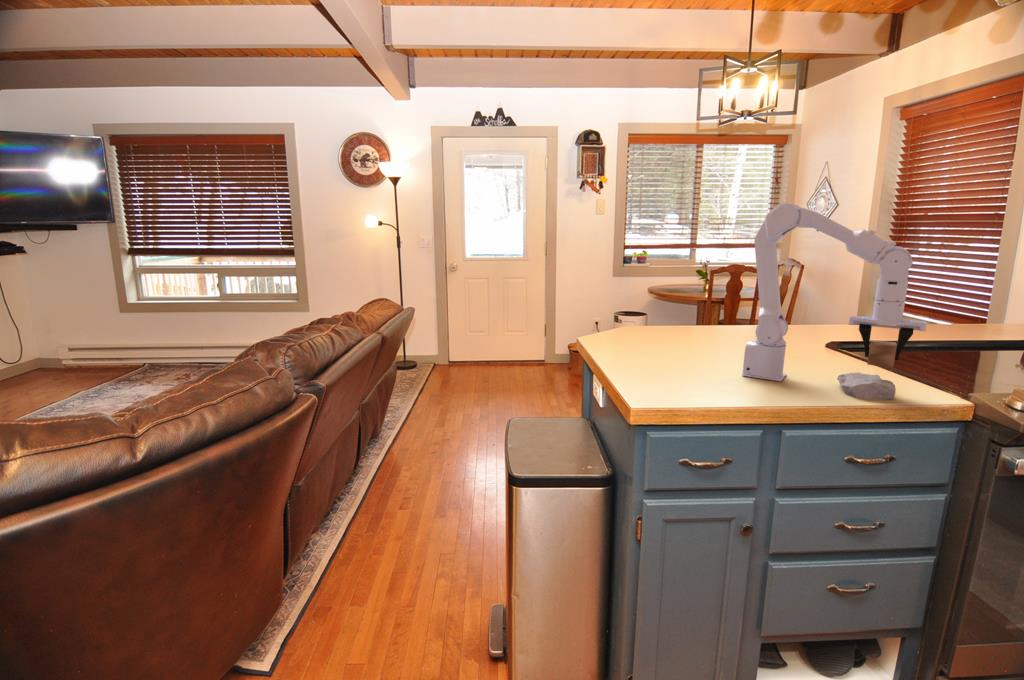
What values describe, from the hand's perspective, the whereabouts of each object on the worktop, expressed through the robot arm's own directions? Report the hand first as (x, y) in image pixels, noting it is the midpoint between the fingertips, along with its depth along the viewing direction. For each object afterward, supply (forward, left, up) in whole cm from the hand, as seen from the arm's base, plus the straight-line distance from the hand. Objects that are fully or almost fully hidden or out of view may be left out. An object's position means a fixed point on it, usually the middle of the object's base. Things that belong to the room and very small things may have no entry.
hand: (881, 357), depth 124 cm
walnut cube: (0, 0, -2) cm, 2 cm away
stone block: (-3, -1, -9) cm, 10 cm away
